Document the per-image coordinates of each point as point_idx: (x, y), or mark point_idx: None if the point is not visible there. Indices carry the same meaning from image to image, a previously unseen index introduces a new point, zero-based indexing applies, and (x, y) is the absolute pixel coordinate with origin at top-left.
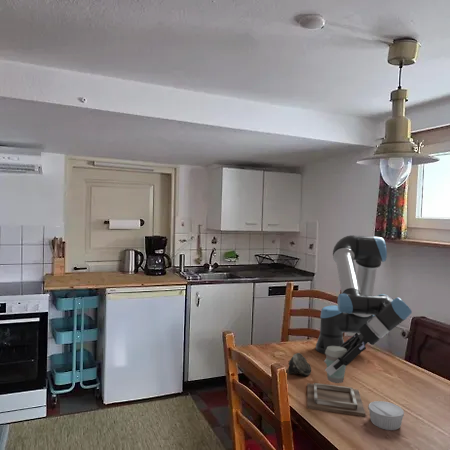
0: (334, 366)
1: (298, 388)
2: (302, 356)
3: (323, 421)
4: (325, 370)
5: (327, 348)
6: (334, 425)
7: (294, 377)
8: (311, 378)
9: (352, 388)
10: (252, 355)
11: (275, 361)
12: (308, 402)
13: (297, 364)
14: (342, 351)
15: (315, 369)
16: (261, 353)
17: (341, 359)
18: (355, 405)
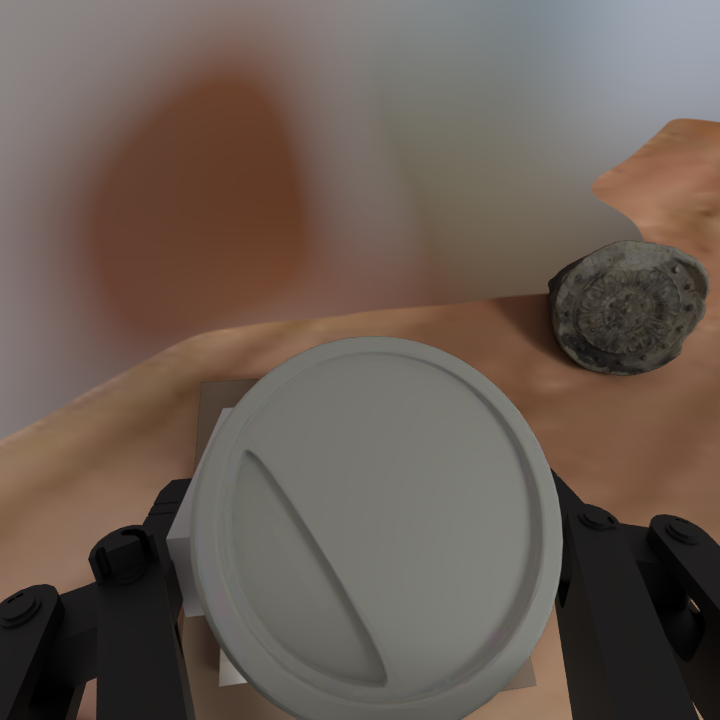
0: (161, 490)
1: (409, 335)
2: (699, 296)
3: (80, 469)
4: (224, 412)
5: (335, 344)
6: (41, 528)
7: (524, 310)
8: (562, 385)
9: None
10: (647, 146)
11: (652, 224)
12: (237, 384)
13: (584, 285)
14: (350, 615)
15: (694, 399)
16: (696, 170)
17: (28, 596)
18: (221, 668)
